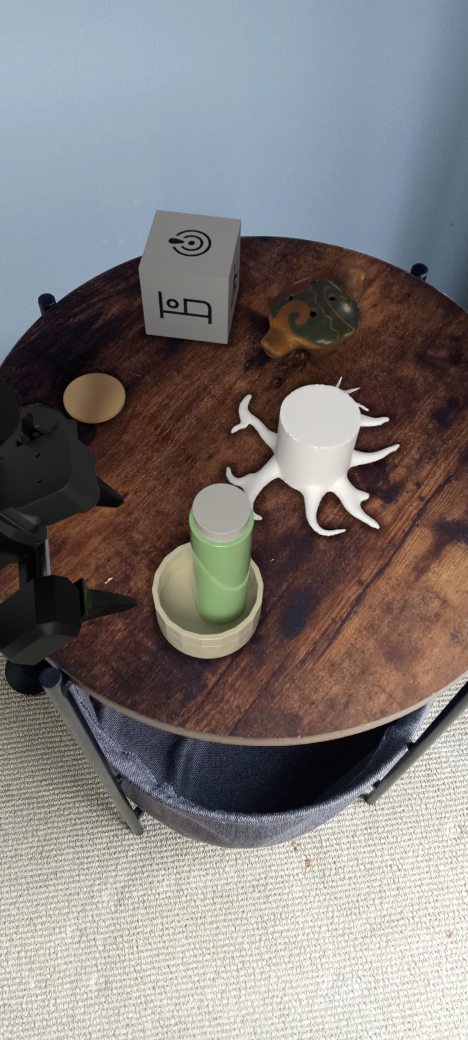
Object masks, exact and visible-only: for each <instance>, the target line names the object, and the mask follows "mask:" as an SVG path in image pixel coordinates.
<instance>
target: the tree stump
mask: <svg viewBox="0 0 468 1040" xmlns="http://www.w3.org/2000/svg"><path fill="white" fill-rule="evenodd" d="M342 379H343V376H341V377H340V378H339V380H338V382H337V383H336V384H335V386H333V385H327V384H324V383H323V384H318V383H315V384H308V385H304V386H301V387H298V388H295V390H293V391H291V392H290V394H288V395H287V396H286V397H285V398H284V400H283V401H282V402H281V405H280V410H279V418H278V426H277V432H274V431H271V430H270V429H268V427H266V425H265V424H264V423H263V422H262V421H261V419H259V418H258V417H257V416H255V415H254V414H252V413H251V411H249V407H248V406H249V404H250V401H251V400H252V395H251V394H250V393H249V394H247V395H246V396H245V397H244V398H242V400H241V402H239V407H238V414H239V420H240V423H239V424H236V425H235V426H233V427H232V429H231V431H230V433H231V434H234V433H236V432H238V431H239V430H243V429H246V428H247V427H249V425H251V426H253V428H254V429H255V430H256V431H257V433H258V435H259V436H260V438H261V439H262V441H264V443H265V444H266V445H267V446H268V447H269V448H270V449H271V451H272V453H273V454H272V456H271V458H270V459H269V460H268V461H267V462H266V463H265V464H264V465H263V466H262V467H261V468H260V469H258V471H256V472H254V473H248V474H246V475H244V476H242V477H236V476H234V474H233V473H232V470H231V469H232V468H230V466H227V467H226V468H225V471H226V473H225V477H226V478H227V480H228V483H229V484H231V485H233V486H235V487H239V488H240V489H242V491H243V492H244V493H245V494H246V495H247V497H248V499H249V501H250V504H251V508H252V511H253V514H254V521H262V520H263V517H262V516H261V515H259V514H258V513H255V511H254V502H255V501H256V498H257V497H258V496H259V495H260V492H261V491H262V490H263V488H264V487H266V486H267V485H268V484H269V483H271V481H274V480H275V479H278V478H279V479H280V480H282V481H283V482H284V483H286V484H287V486H289V487H291V488H292V489H294V490H297V491H298V492H300V493H301V495H302V496H303V499H304V508H305V517H306V520H307V522H308V523H307V524H308V525H309V526H310V527H311V528H312V530H313V531H314V532H316V533H318V534H319V535H322V536H327V537H330V536H335V535H338V534H341V533H344V532H346V531H347V530H346V529H345V528H341V529H334V530H327V529H324V528H322V527H321V526H320V525H319V522H318V521H317V512H318V508H319V507H320V503H321V502H322V500H323V497H324V496H325V495H326V494H327V493H333V494H334V495H335V496H336V497H338V499H339V500H340V502H341V504H342V505H343V507H344V509H345V510H346V511H347V512H348V513H349V514H350V515H352V516H353V517H354V518H355V519H358V520H359V521H361V522H363V523H365V524H367V525H368V526H370V527H371V528H375V529H377V530H379V529H380V525H379V523H378V522H377V521H376V520H375V519H374V518H373V517H371V516H369V515H368V514H367V513H366V512H365V511H364V510H363V509H362V507H361V503H362V502H363V501H367V500H368V499H370V494H369V493H368V492H366V491H363V490H360V489H358V488H356V487H355V486H354V485H353V484H352V483H351V482H350V479H349V477H348V472H349V470H350V469H351V468H353V467H358V466H359V465H366V464H370V463H373V462H376V461H379V460H381V459H384V458H385V457H386V456H388V455H389V454H391V453H393V452H395V451H397V450H398V448H399V447H401V446H400V444H399V443H397V444H393V445H390V446H388V447H386V448H383V449H381V450H377V451H373V452H364V451H360V450H356V449H355V446H356V443H357V439H358V435H359V432H360V429H361V428H363V427H376V426H382V425H383V424H385V423H388V422H389V421H390V417H387V416H381V417H371V416H369V415H365V414H363V413H361V410H360V409H362V410H364V411H366V412H369V411H370V410H369V408H367V407H366V406H365V405H362V404H361V403H359V402H356V401H355V399H353V397H352V396H350V394H352V393H353V392H355V391H358V390H360V389H361V387H356V388H349V389H347V390H342V389H341V388H339V387H340V385H341V381H342Z"/></svg>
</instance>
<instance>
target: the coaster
mask: <svg viewBox="0 0 468 1040" xmlns="http://www.w3.org/2000/svg"><path fill="white" fill-rule="evenodd" d="M62 399H63V400H62V401H63V406H64V408H65V411H66V412H67V413H68V415H69V416H70V417H72V418H73V419H75V421H78V422H82V423H85V424H99V423H103V422H107V421H109V420H111V419H113V418H114V417H116V416H117V415H119V413H120V412H121V411H122V410H123V408H124V406H125V404H126V399H127V398H126V391H125V388H124V385H123V384H122V383H121V382H120V381H119V380H118V378H116V377H114V376H112V375H109V374H106V373H101V372H92V373H91V372H90V373H86V374H84V375H81V376H79V377H77V378H75V379H74V380H72V381H71V382H70V383H69V384H68V385H67V387H66V388H65V390H64V392H63V397H62Z"/></svg>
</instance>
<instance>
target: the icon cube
mask: <svg viewBox="0 0 468 1040" xmlns="http://www.w3.org/2000/svg"><path fill="white" fill-rule="evenodd" d="M153 216H154V217H153V220H152V223H151V226H150V229H149V233H148V236H147V239H146V242H145V245H144V249H143V252H142V256H141V258H140V262H139V264H138V273H139V274H138V275H139V276H138V277H139V283H140V292H141V293H140V294H141V302H142V310H143V319H144V328H145V334H146V335H149V336H150V335H151V336H159V337H167V338H174V339H183V340H192V341H199V342H200V341H201V342H208V343H215V344H224V345H228V342H229V339H230V333H231V328H232V323H233V318H234V314H235V310H236V309H235V308H236V304H237V299H238V295H239V294H238V293H239V288H240V269H241V267H240V265H241V237H242V235H241V234H242V218H241V219H240V218H231V217H223V216H222V217H221V216H214V215H206V214H205V215H204V214H197V213H189V212H181V211H179V212H178V211H171V210H161V209H155V213H154V215H153Z"/></svg>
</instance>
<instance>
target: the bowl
mask: <svg viewBox="0 0 468 1040" xmlns="http://www.w3.org/2000/svg"><path fill="white" fill-rule="evenodd" d="M154 572H155V573H154V576H153V582H152V587H151V593H152V594H151V595H152V599H153V604H154V610H155V614H156V619H157V623H158V627H159V629H160V631H161V634H162V635H163V637H164V638H165V639H166V640H167V641H168V643H170V645H172V647H174V648H175V649H176V650H178V651H180V652H181V653H183V654H185V655H187V656H190V657H194V658H198V659H217V658H222V657H226V656H229V655H231V654H233V653H235V652H236V651H238V650H240V649H241V648H242V647H243V646H245V645H246V644H247V643H248V642H249V641H250V640H251V638H252V637H253V635H254V634H255V632H256V630H257V628H258V625H259V621H260V617H261V611H262V605H263V596H264V581H263V579H262V574H261V571H260V568H259V566H258V565H257V563H256V562H255V561H254V560H253V558H252V557H251V560H250V572H249V583H248V594H247V604H246V608H245V610H244V612H243V614H242V615H241V616H240V617H239V618H238V619H237V620H235V621H233V622H231V623H228V624H213V623H210V622H208V621H206V620H205V619H203V618H202V617H201V616H200V615H199V613H198V612H197V610H196V607H195V603H194V589H193V574H192V559H191V544H190V541H188V542H187V543H183V544H181V545H179V546H177V547H176V548H175V549H173V550H172V551H171V552H169V553H168V554H166V556H165V557H164V558H163V559H162V561H161V562H160V564H159V566H158V568H157V569H156V571H154Z"/></svg>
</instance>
